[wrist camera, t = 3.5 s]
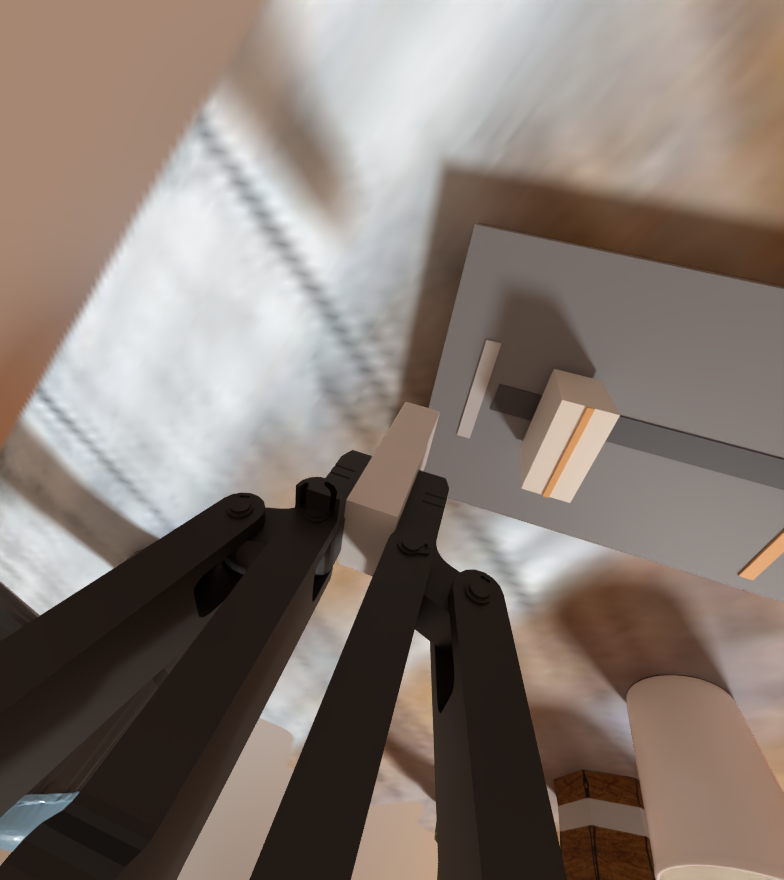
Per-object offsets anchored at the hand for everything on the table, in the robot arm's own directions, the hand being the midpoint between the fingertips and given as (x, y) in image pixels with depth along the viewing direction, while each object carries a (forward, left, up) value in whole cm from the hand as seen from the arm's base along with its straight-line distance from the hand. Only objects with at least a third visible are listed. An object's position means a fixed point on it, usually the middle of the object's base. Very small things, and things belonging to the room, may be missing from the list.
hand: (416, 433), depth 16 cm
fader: (+7, 0, -6) cm, 9 cm away
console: (+15, 0, -10) cm, 18 cm away
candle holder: (+28, -25, -10) cm, 39 cm away
